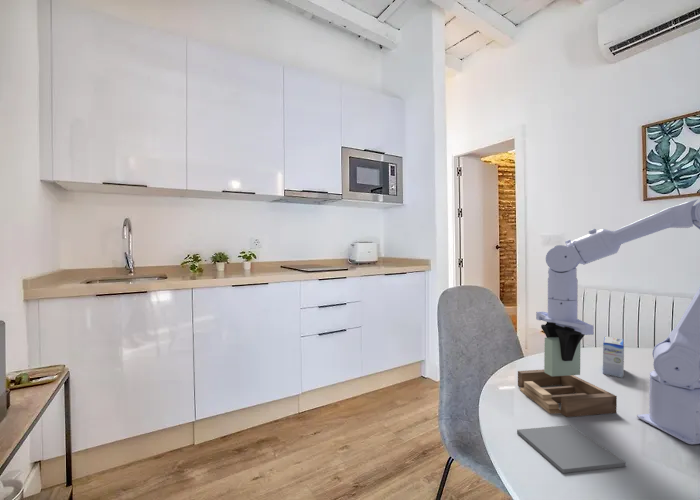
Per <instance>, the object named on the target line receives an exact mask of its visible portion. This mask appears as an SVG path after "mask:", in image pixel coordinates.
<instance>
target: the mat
mask: <svg viewBox="0 0 700 500" xmlns="http://www.w3.org/2000/svg"><path fill="white" fill-rule="evenodd" d="M516 433H517V434H518V435H519V436H520V437H521V438H522V439H523V440H524V441H526V442H527V443H528V444H529V445H530V446H531V447H533V449H535V450H536V451H537V452H538V453H539V454H540V455H541V456H543V457H544V458H545V459H546V460H547V461H548V462H549V463H550V464H552V465H553V466H554V467H555V468H556V469H557V470H559V471H560V472H561V473H562V474H569V473H577V472H587V471H594V470H595V471H596V470H604V469H613V468H623V467H627V466H626V465H627V463H626V461H624V460H622V459H621V458H620V457H618V456H617V455H616V454H614V453H612V452H611V451H609V450H608V449H606V448H605V447H603V446H602V445H600V444H599V443H598V442H597V441H594V439H592V438H590V437H589V436H587V435H586V434H584V433H583V432H582V431H580V430H579V429H577V428H576V427H574V426H572V425H571V424H567V425H554V426H545V427H534V428H533V427H532V428H521V429H516Z"/></svg>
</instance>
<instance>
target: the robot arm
mask: <svg viewBox="0 0 700 500" xmlns="http://www.w3.org/2000/svg"><path fill="white" fill-rule="evenodd" d="M697 201H699V200H698V199H693V200H690V201H686V202H683V203H680V204H676V205H674V206H670V207H667V208H664V209H663V210H661V211H660V210H659V211H658V212H656V213H653V214H651V215H649V216H646V217H644V218H641V219H639V220H635V221H634V222H632V223H629V224H627V225H625V226H622V227H620V228H618V229H615V230H610V229H606V228H600V229H598V230H597V229H596V228H593V229H590V230H588V234H585V235H583V236H580V237H578V238H575V239H574V240H571V239H567V240H565V241H564V242H565V245H562V244H561V245H560V244H558V245H555V246H554V247H552V248H551V249H549V250H548V251H547V253H546V255H545V263H546V265H547V266H548V270H547V271H548V272H547V274H548V276H547V311H536V313H535V315H536V320H537V321H543V322H546V323H545V324H541V325H540V328H541V330H542V331H543V334H544V335H545V338H550V337H558V338H559V341H560V347H561V357H562V360H563V361H572V360H573V357H574V354H575V351H576V348H577V346H578V344H579V342H580V343H581V341H582V340H583V338H584V336H590V335H591V336H592V335H594V328H595V327H594V324H590V323H588V322H585V321H583V320H581V319H579V318H578V313H579V311H578V306H579V305H578V301H579V300H578V297H579V296H578V286H579V285H578V277H577V271H578V266H579V265H580V264H581V265H587V264H590V263H592V262H596V261H598V260H602V259H603V258H607V257H610V256H612V255H615V254H617V253H619V252H618V251H619V249H620V247H621V245H624V244H625V243H629V242H632V241H634V240H637V239H641V238H643V237H646V236H649V235H652V234H654V233H658V232H661V231H664V230H667V229H689V228H692V227H696V228H697V229H699V230H700V201H699V202H697ZM652 358H653V364H652V365H653V369H654V370H652V371H650V372H649V404H648V405H649V408H648V411H649V412H648V413H642V414H637V415H636V417H637V418H638V419H639V420H642V421H644V422H645V423H647V424H648V425H651V426H653V427H655V428H657V429H659V430H661V431H662V432H665V433H667V434H668V435H670V436H672V437H674V438H676V439H678V440H680V441H682V442H683V443H686V444H688V445H699V444H700V286H699V288H697V290H696V292H695V293H694V296H693V298H692V299H691V300H690V303H689V304H688V306H687V307H686V309H685V311H684V312H683V314H682V316H681V318H680V320H678V322H677V324H676V326H675V327H674V328H673V329H672V330H671V331H670V332H669V334H668V335H667V337H666V338H665V339H663V341H661V342H658V343H657V344H655V346H654V347H653V349H652Z"/></svg>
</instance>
